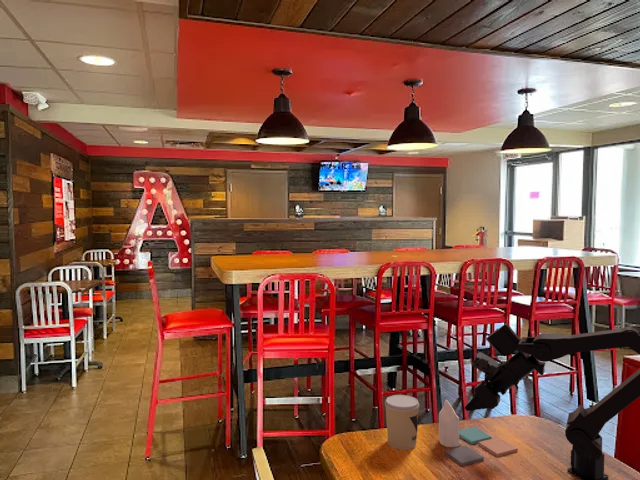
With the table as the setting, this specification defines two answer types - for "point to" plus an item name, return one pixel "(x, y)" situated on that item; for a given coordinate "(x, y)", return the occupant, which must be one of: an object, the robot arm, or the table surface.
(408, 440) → the coffee cup
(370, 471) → the table surface
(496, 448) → the terracotta tile
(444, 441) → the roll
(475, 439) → the teal tile
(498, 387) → the robot arm
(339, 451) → the table surface
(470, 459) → the charcoal tile
